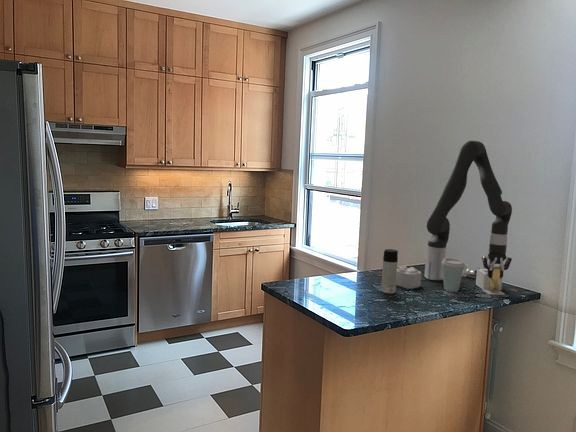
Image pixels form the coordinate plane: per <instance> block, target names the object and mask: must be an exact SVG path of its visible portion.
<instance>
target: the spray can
mask: <svg viewBox="0 0 576 432" xmlns="http://www.w3.org/2000/svg"><path fill="white" fill-rule="evenodd" d="M398 254H399V251H398V250H397V249H390V248H387V249H385V250H383V256H382V259H383V260H382V273H381V284H380V285H381V286H380V287H381V288H380V291H381V293H384V294H394V293H396V289H397V288H396V287H397V285H396V276H397V268H398Z"/></svg>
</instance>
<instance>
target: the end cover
mask: <svg viewBox="0 0 576 432" xmlns="http://www.w3.org/2000/svg"><path fill="white" fill-rule="evenodd" d="M500 272H501V267H499V266H496V265H494V266H493V268H492V278H490V283H489V289H490V290H493V291H500V290H499V283H500Z"/></svg>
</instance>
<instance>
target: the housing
mask: <svg viewBox="0 0 576 432" xmlns="http://www.w3.org/2000/svg"><path fill="white" fill-rule="evenodd" d="M476 270H477V276H476V279H475V285H476V286H477V287H479V288H480V289H481V290H482V291H483V290H490V289H489V283H490V278H489V277H488V276H487V273H488V270H487V269H486V268H484V269H482V268H480V269H478V268H477V269H476ZM502 287H503V277H502V278H500V283H499V291H502Z"/></svg>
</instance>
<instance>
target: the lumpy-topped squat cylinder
mask: <svg viewBox="0 0 576 432" xmlns="http://www.w3.org/2000/svg"><path fill="white" fill-rule="evenodd" d="M421 283H422V271H420V270H418V269H417V268H415V267H414V266H411V267H407V266H405V265H404V266H403V265H402V266H400V267H397V276H396V286H399V287H401V288H405V289H410V288H411V289H416V288H420V287H421ZM411 289H410V290H411Z"/></svg>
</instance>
